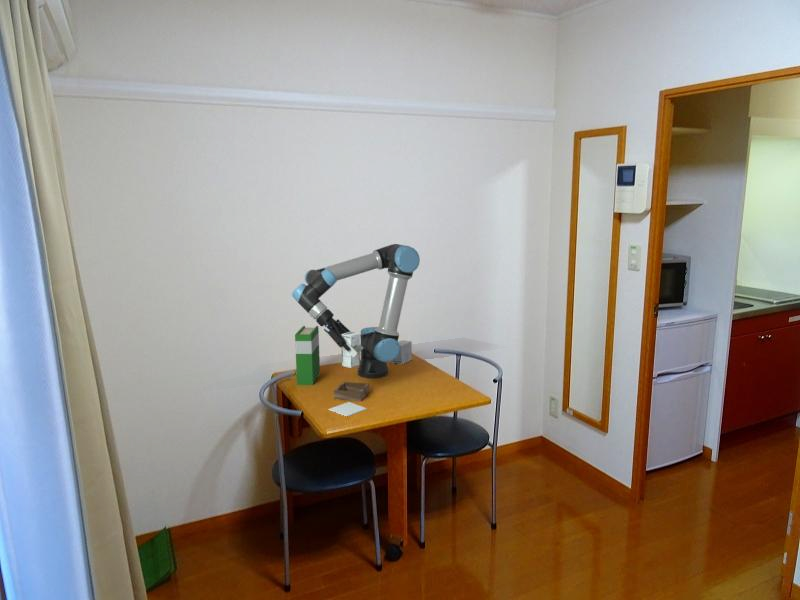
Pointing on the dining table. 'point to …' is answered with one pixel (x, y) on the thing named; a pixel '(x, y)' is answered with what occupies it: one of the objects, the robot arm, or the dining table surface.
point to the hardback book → (307, 355)
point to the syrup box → (354, 341)
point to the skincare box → (404, 352)
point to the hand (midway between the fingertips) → (358, 352)
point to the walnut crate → (351, 391)
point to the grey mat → (347, 409)
